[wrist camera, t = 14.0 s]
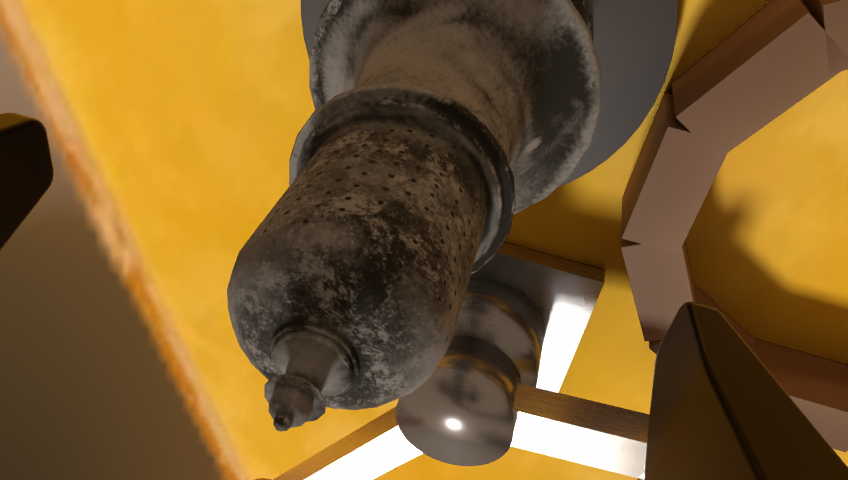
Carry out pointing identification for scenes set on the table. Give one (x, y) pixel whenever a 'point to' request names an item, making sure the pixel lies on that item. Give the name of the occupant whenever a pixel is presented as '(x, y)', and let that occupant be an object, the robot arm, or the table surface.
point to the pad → (605, 65)
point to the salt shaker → (406, 188)
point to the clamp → (483, 424)
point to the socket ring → (699, 164)
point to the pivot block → (531, 310)
